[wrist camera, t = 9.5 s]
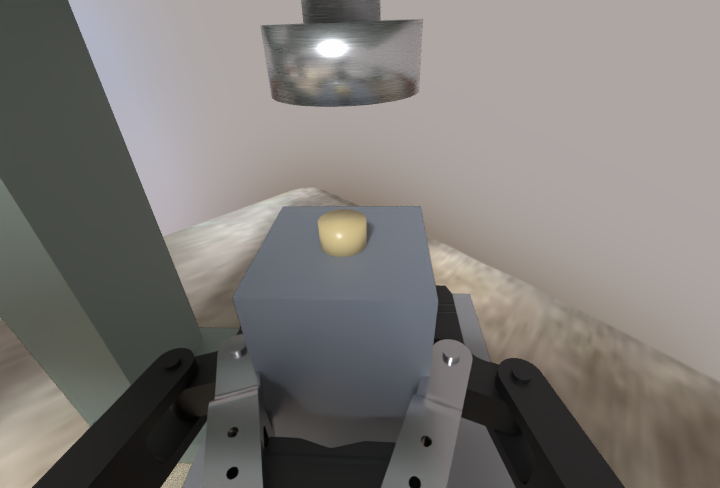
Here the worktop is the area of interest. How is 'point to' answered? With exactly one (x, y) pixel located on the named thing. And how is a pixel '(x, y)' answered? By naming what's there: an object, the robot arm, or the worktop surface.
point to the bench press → (109, 240)
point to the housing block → (340, 320)
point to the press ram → (343, 55)
